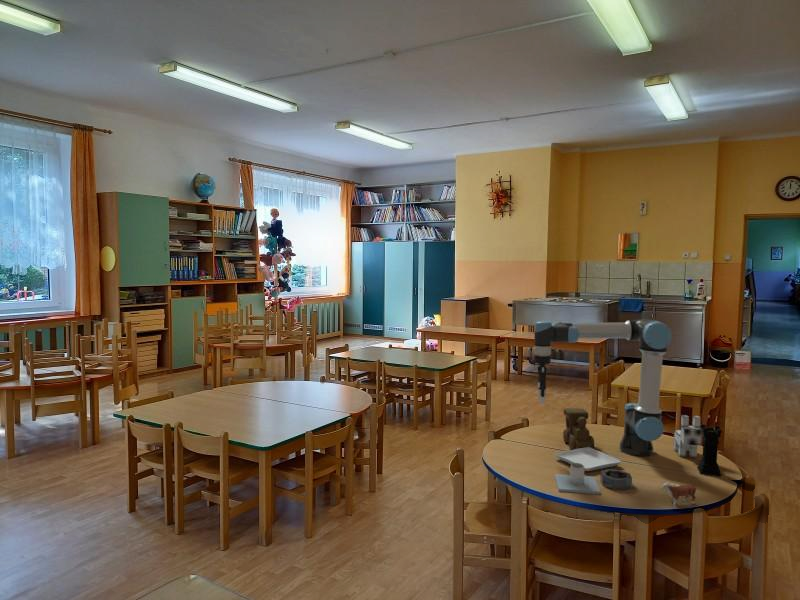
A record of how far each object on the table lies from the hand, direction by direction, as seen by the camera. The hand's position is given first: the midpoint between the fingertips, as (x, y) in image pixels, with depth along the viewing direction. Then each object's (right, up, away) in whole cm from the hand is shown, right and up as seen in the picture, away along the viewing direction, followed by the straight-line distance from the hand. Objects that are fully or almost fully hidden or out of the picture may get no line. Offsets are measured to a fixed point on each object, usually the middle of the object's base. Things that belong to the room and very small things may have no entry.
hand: (541, 399), depth 269 cm
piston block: (+7, -29, -33) cm, 44 cm away
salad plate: (+19, -28, -7) cm, 35 cm away
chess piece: (+69, -29, -17) cm, 77 cm away
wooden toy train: (+22, -26, +16) cm, 38 cm away
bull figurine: (+40, -31, -49) cm, 71 cm away
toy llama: (+70, -27, +5) cm, 75 cm away
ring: (+23, -29, -31) cm, 49 cm away
